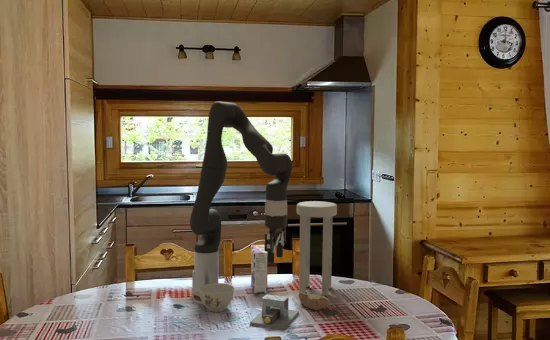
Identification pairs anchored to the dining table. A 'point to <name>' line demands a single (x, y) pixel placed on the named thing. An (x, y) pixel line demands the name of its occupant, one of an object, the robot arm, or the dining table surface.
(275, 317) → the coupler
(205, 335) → the dining table surface
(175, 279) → the dining table surface
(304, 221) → the stool
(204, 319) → the dining table surface
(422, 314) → the dining table surface
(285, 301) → the grey arch block
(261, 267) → the candy box
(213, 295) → the teacup
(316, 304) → the stone
